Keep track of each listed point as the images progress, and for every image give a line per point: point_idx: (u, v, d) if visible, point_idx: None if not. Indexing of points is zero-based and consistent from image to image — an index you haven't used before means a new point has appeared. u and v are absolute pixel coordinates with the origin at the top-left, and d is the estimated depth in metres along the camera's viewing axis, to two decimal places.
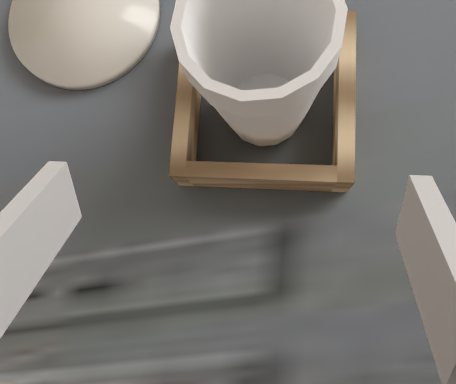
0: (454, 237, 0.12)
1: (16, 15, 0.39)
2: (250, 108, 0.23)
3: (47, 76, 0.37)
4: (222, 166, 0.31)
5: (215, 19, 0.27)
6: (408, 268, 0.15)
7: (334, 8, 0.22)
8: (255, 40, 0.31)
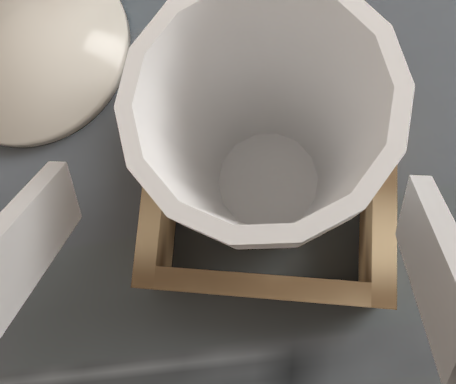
0: (454, 237, 0.12)
1: None
2: (246, 246, 0.14)
3: None
4: (206, 276, 0.22)
5: (195, 78, 0.18)
6: (408, 268, 0.15)
7: (392, 82, 0.13)
8: (255, 98, 0.22)
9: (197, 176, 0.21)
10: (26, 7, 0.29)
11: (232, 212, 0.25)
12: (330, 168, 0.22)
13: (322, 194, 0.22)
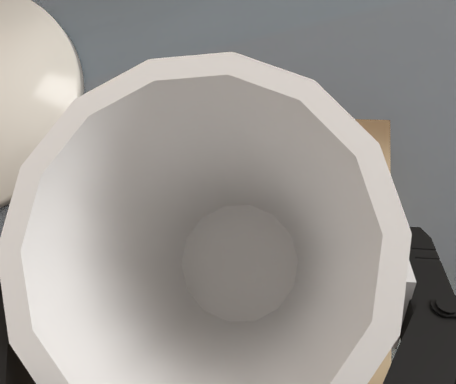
0: None
1: None
2: None
3: None
4: None
5: (131, 176, 0.14)
6: None
7: (380, 228, 0.09)
8: (218, 178, 0.18)
9: (145, 280, 0.17)
10: None
11: (197, 300, 0.21)
12: (309, 264, 0.18)
13: (300, 292, 0.18)
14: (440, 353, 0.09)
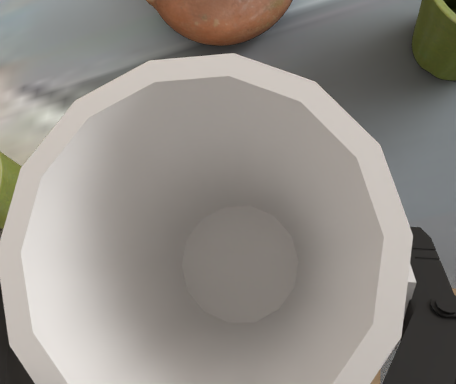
0: None
1: None
2: None
3: None
4: None
5: (131, 177, 0.14)
6: None
7: (381, 230, 0.09)
8: (219, 179, 0.18)
9: (145, 281, 0.17)
10: None
11: (197, 301, 0.21)
12: (310, 265, 0.18)
13: (301, 293, 0.18)
14: (440, 353, 0.09)
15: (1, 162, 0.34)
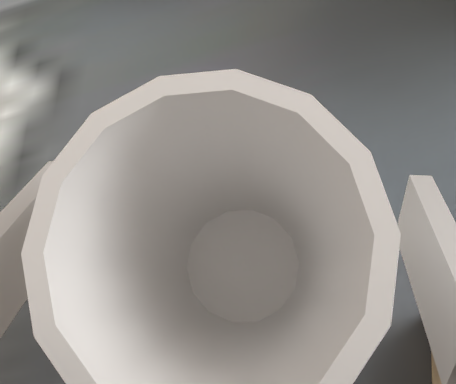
0: (454, 237, 0.12)
1: None
2: None
3: None
4: None
5: (141, 183, 0.15)
6: (408, 268, 0.15)
7: (372, 229, 0.10)
8: (222, 184, 0.19)
9: (153, 282, 0.18)
10: None
11: (202, 302, 0.22)
12: (309, 265, 0.19)
13: (301, 292, 0.19)
14: None
15: None
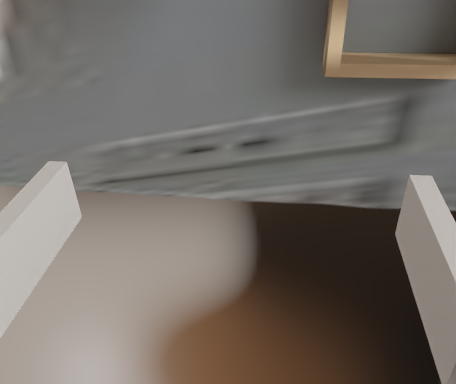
0: (454, 237, 0.12)
1: None
2: None
3: None
4: (372, 68, 0.37)
5: None
6: (408, 268, 0.15)
7: None
8: None
9: None
10: None
11: None
12: None
13: None
14: None
15: None
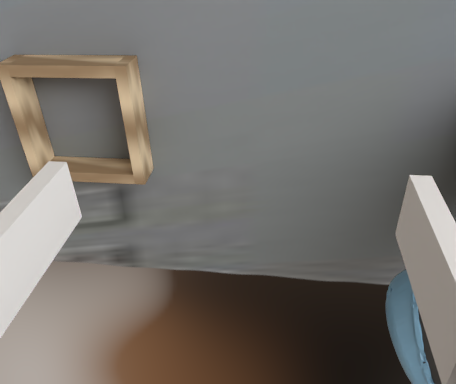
0: (454, 237, 0.12)
1: None
2: None
3: None
4: None
5: None
6: (408, 268, 0.15)
7: None
8: None
9: None
10: None
11: None
12: None
13: None
14: None
15: None
